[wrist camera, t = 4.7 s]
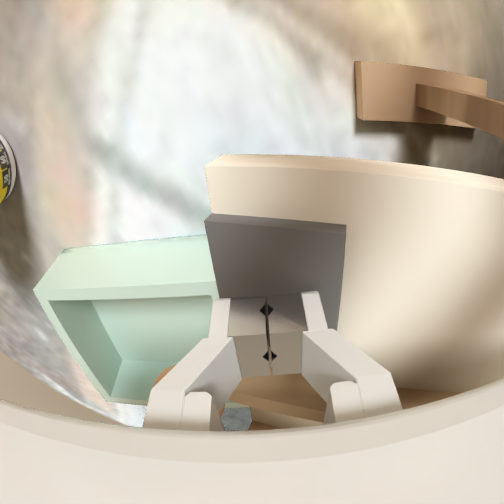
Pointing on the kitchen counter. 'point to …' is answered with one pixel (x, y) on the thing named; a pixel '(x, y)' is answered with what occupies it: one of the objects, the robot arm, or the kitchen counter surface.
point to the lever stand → (425, 97)
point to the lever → (365, 268)
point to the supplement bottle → (6, 169)
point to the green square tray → (131, 309)
